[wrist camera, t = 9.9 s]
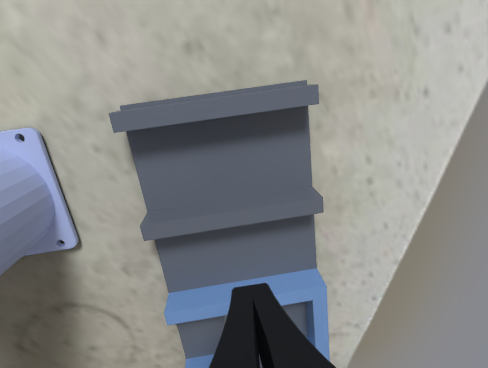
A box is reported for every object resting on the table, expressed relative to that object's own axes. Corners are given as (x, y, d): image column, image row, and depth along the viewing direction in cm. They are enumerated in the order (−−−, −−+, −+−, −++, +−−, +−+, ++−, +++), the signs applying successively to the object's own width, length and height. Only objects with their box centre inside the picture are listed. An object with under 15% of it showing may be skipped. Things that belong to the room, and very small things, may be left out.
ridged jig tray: (189, 363, 24) (186, 395, 21) (122, 105, 17) (107, 108, 15) (318, 340, 24) (329, 368, 22) (303, 80, 18) (317, 79, 15)
